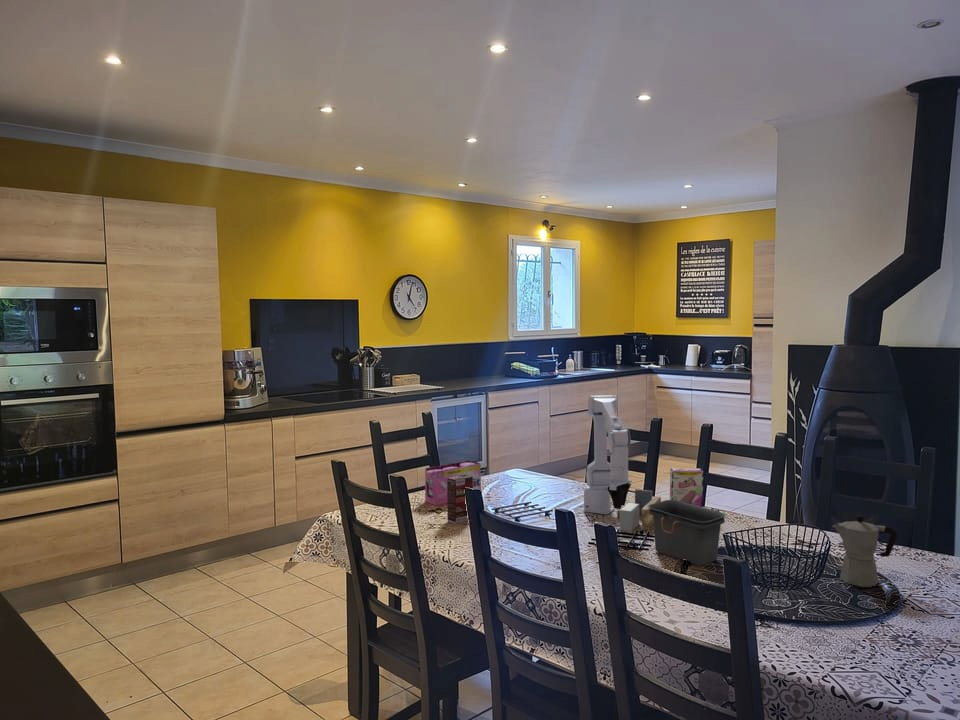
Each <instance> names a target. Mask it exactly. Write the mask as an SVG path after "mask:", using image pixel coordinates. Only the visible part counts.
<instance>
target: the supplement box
mask: <svg viewBox="0 0 960 720" xmlns="http://www.w3.org/2000/svg"><path fill="white" fill-rule="evenodd" d="M465 487H470V488H473V477H472V476H469V475H461V476H456V477H451V478H447V503H446V504H447V522H448V523H450V524H454V525H457V524H461V523H462V524H463V523H466V522H468V518H467V511H466V504H465V493H464V489H465Z"/></svg>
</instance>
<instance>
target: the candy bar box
mask: <svg viewBox="0 0 960 720" xmlns="http://www.w3.org/2000/svg"><path fill="white" fill-rule="evenodd" d="M669 500H677V501H681V502H685V503H689V504H692V505H696V506H700V507H703V508H704V504H703V503H704V470H702V468H688V467H687V468H686V467H685V468H684V467H670V468H669Z"/></svg>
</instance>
